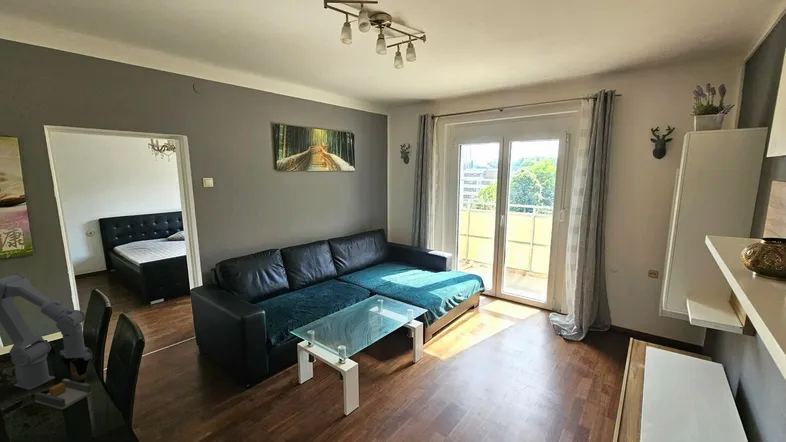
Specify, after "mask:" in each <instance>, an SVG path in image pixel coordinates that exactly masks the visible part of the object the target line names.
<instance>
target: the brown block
mask: <svg viewBox="0 0 786 442" xmlns="http://www.w3.org/2000/svg"><path fill="white" fill-rule="evenodd" d="M77 359H78V358H77ZM74 360H76V359H74ZM74 360H72V361H74ZM72 361H70V369H71V373H70V375H71V380H72V381H76V382H81V381H83V380H85V379H86V378H87V377H86V375H87V373H85V374H83V375H81V376H79V375H78V373H77V370H76V367H75V366H74V364H73V363H72Z"/></svg>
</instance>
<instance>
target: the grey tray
mask: <svg viewBox="0 0 786 442" xmlns="http://www.w3.org/2000/svg"><path fill="white" fill-rule="evenodd" d="M61 383H64V384H65V388H66V391H65V392H63V393H61V394H59V395H57V396H52V395H50V392H47V393H44V392H43V393H42V392H39V391H37V392H35V393H34V392H33V393H34V395H33V396H34V402H35V403H37V404H40V405H44V406H47V407H50V408H54V409H59V410H65V409H66V408H68V407H70V406H73V404H75V403H78V402H79V401H81V400H83V399H85V398H86V397H88V396H90V395H91V394H93V392H92V386H91V384H89V383H86V382H81V381H78V382H76V381H72V379H68V378H63V379H62V380H61Z"/></svg>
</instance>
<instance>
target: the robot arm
mask: <svg viewBox="0 0 786 442" xmlns="http://www.w3.org/2000/svg"><path fill="white" fill-rule="evenodd" d="M15 297H20V298H22V299H24V300H26V301H28V302H30V303H32V304H34V305H35V306H37V307H39V308H40V313H41V314H43V315H45V316H46V317H48V318H49V319H51V320H52V321H54V322H56V324H55V326H56V328H57V329H58V330H59V331H60V334H61V335H62V343H63V348H64V349H61V350H59V355H60V356H64V357H63V358H61V359H60V361H61V362H62V363H63V364H64V365H65V366H66V368H67V370H68V372H69V374H71V369H70V361H72V360H74V359H76V360H74V361H72V363H73V364H74V366H75V367H76V370H77V373H78V375H79V376H81V375H83V374H87V369H88V365H89V362H90V360H91V359H92V353H90V352H89V351H88V350H89V347H87V346H85V339H84V332H83V331H84V330H83V325H82V323H83V322H84V321H85V319H86V317H85V314H84V313H83V312H82V310H79V309H72V308H70V307H68V306H67V305H65V304H64V303H62V302H61V301H60V300H58V299H54V300H53V299H51V300H50V299H49V298H48V297H47V296H45V295H44V294H43V293H41V292H40V291H39V290H38V289H36V287H34V286H33V285H31V281H30V279H29V278H26V277H25V276H24V275H23V274H20V273H14V274H11V275H8V276H5V277H3V278H2V277H1V278H0V325H1V326H2V327H3V329H4V331H5V333H6V334H7V335H8V337H9V338H10V339H11V342H12V344H13V345H12V347H11V348H10V350H9V354H10V357H11V358H10V359H11V363H12V364H13V365H14V366H15V369H14V372H15V379H16V383H15V384H13V386H14V387H18V388H21V389H25V390H28V391H29V390H30V391H31V390H32V389H35V388H37V387H39V386H41V385H44V384H45V383H47V382H50V381H52V380H54V379H55V378H56V377H55V376H53V375H50V373H49V367H48V360H47V357H48V356H49V355H48V354H49V352H50V351H51V348H52V347H51V345H50V343H49V342H48V341H47V340H45V339H44V338H43V336H41V335H34V333H33V332H32V330H31V329H30V327H29V326H28V324H27V322H26V320H25V319H24V317H23V316H22V314H21V313H20V311H19V310H18V307H16V304H15V303H14V299H15ZM77 358H78V359H77Z"/></svg>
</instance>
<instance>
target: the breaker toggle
mask: <svg viewBox="0 0 786 442" xmlns="http://www.w3.org/2000/svg"><path fill="white" fill-rule="evenodd" d="M48 390H49V392H48V393H50V395H52V396H57V395H59V394H61V393H63V392H65V391H66V388H65V384H64V383H62V382H59V383H57V384H56V385H53V386H52V387H49V388H48Z"/></svg>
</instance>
